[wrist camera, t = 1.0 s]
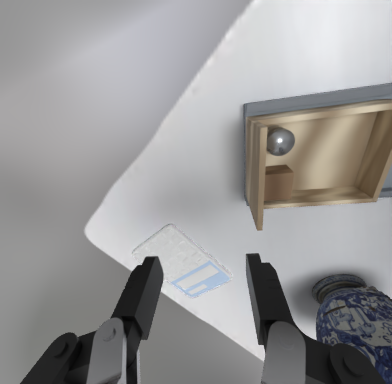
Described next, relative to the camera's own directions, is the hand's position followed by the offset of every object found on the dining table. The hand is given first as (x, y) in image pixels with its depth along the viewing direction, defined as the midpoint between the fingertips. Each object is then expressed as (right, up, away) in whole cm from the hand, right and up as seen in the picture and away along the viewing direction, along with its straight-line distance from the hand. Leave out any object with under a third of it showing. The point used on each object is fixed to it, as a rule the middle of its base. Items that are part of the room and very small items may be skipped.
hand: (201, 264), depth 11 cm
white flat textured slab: (-3, -11, +30) cm, 32 cm away
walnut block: (+11, +7, +16) cm, 20 cm away
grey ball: (+10, +12, +13) cm, 20 cm away
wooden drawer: (+15, +10, +14) cm, 23 cm away
